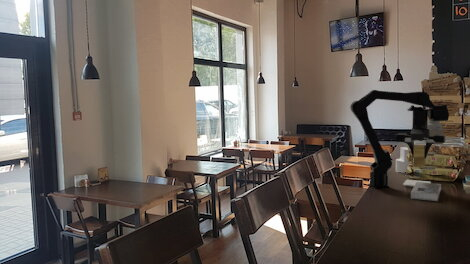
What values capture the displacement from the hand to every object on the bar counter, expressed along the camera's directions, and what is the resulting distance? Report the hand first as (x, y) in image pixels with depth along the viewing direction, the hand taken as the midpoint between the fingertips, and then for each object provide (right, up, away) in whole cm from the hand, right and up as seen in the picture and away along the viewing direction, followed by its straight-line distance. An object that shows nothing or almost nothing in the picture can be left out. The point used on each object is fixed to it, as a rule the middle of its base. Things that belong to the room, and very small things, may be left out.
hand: (419, 158), depth 157 cm
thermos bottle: (+19, -10, +24) cm, 32 cm away
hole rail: (-2, -14, -10) cm, 17 cm away
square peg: (0, -4, 0) cm, 4 cm away
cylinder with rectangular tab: (+9, -9, +32) cm, 35 cm away
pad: (+2, -12, +6) cm, 13 cm away
